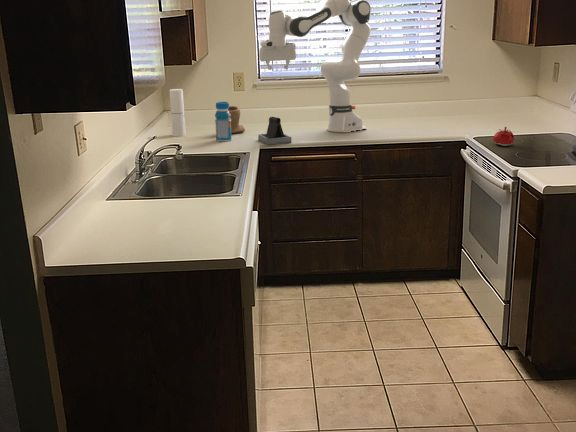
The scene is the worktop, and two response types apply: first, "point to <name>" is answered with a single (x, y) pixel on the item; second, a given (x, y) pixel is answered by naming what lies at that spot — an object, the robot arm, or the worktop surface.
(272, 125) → the door stopper
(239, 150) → the worktop surface
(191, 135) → the worktop surface
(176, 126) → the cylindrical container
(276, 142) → the tray
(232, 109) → the tan boot
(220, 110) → the beverage bottle
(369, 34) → the robot arm
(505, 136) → the pomegranate
